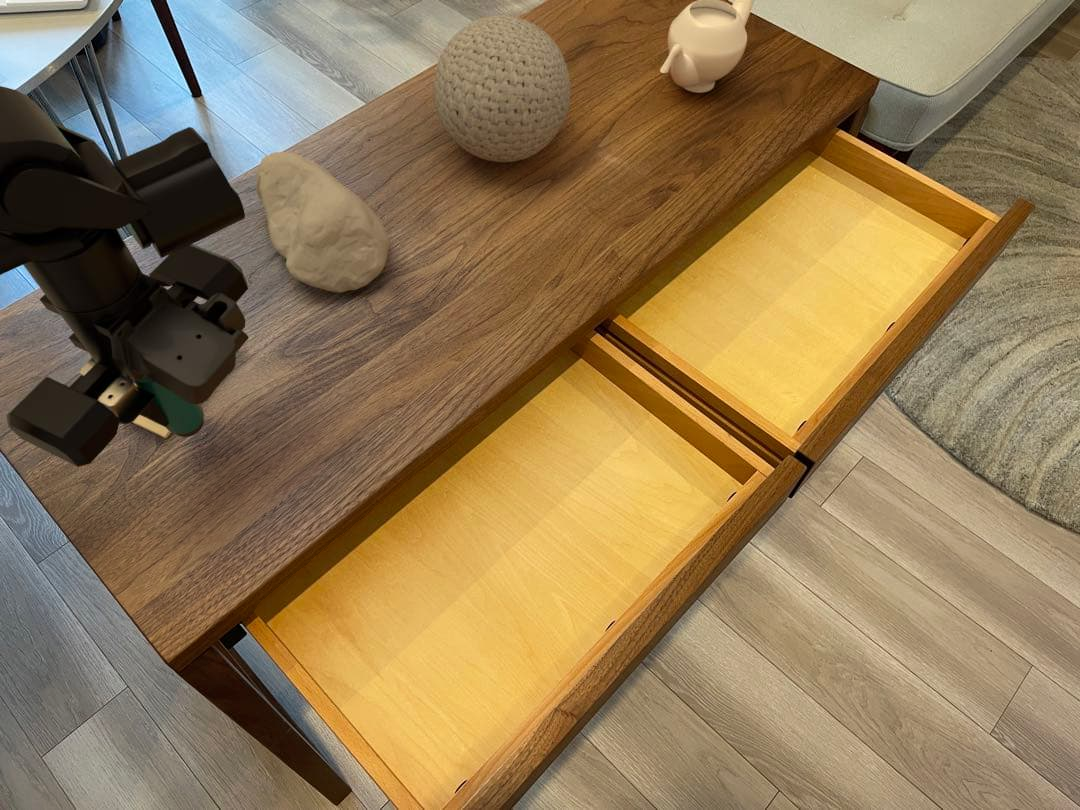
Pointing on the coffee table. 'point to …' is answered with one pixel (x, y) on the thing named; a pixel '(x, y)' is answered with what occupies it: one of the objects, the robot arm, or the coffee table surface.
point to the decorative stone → (320, 224)
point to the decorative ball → (502, 88)
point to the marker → (174, 409)
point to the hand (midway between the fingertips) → (176, 407)
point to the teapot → (706, 42)
